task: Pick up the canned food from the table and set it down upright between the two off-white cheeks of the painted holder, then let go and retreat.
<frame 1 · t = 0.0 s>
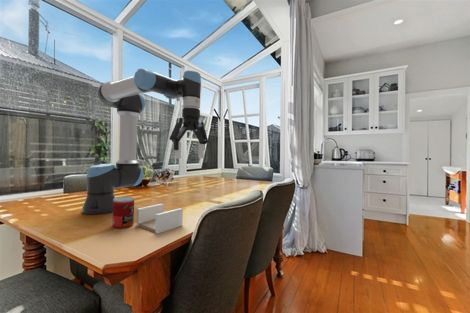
hand: (190, 158, 94), 28 cm above the table, fingers open, 13 cm apart
canned food: (123, 225, 90), on the table
holder: (159, 225, 91), on the table
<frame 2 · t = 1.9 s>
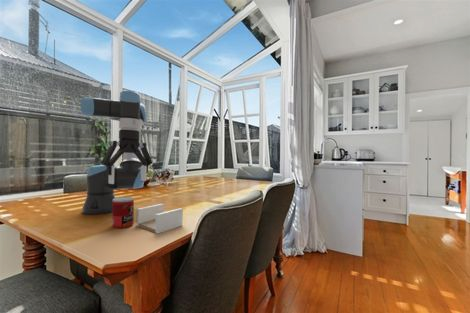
hand: (128, 182, 89), 18 cm above the table, fingers open, 13 cm apart
nothing on the table moved.
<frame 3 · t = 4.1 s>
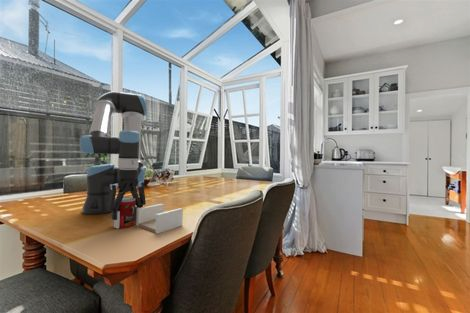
hand: (126, 224, 89), 0 cm above the table, fingers closed on canned food, 8 cm apart
canned food: (124, 225, 90), on the table, touching gripper
everything else where it was.
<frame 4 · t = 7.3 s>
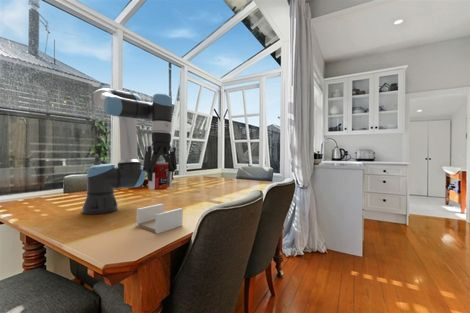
hand: (160, 187, 91), 16 cm above the table, fingers closed on canned food, 8 cm apart
canned food: (158, 189, 91), point 15 cm above the table, touching gripper
everything else where it was.
when the fingers open (3 cm above the table, at t = 10.2 s): canned food drops 2 cm, resting on holder.
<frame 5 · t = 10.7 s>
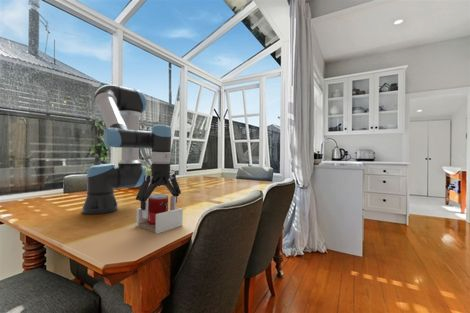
hand: (159, 214, 91), 5 cm above the table, fingers open, 13 cm apart
canned food: (157, 222, 91), point 1 cm above the table, touching holder
everything else where it was.
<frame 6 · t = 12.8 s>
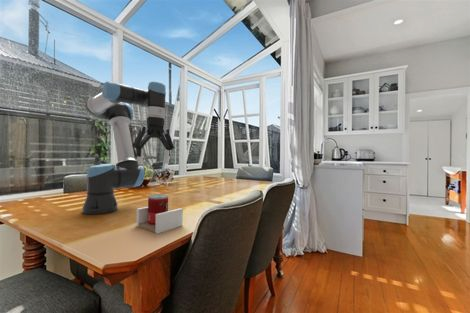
hand: (154, 163, 101), 25 cm above the table, fingers open, 13 cm apart
nothing on the table moved.
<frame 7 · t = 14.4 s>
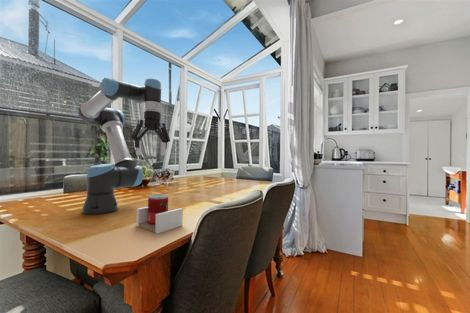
hand: (151, 155, 107), 29 cm above the table, fingers open, 13 cm apart
nothing on the table moved.
at the end: canned food inside the target area on the holder (1.2 cm from its centre), point 1.0 cm above the holder's base; canned food tilted 0°; the gripper is holding nothing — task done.
